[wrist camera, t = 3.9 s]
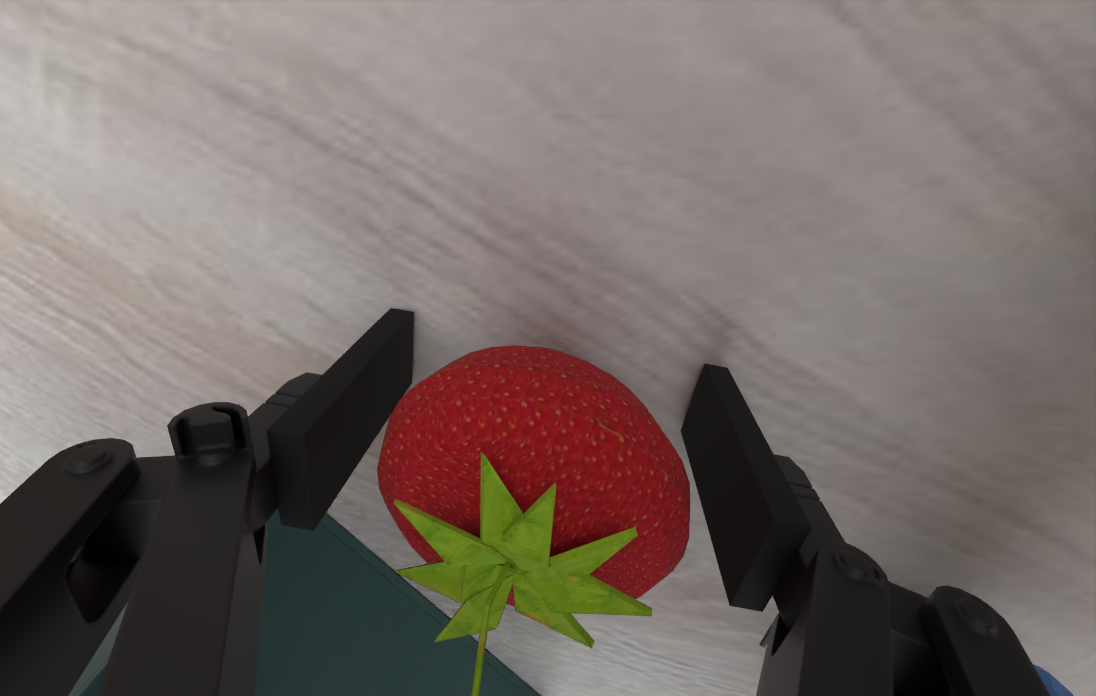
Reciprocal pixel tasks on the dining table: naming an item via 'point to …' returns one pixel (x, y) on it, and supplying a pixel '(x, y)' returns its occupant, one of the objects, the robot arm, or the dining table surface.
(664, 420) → the dining table surface
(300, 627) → the carton
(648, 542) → the strawberry
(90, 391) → the dining table surface
